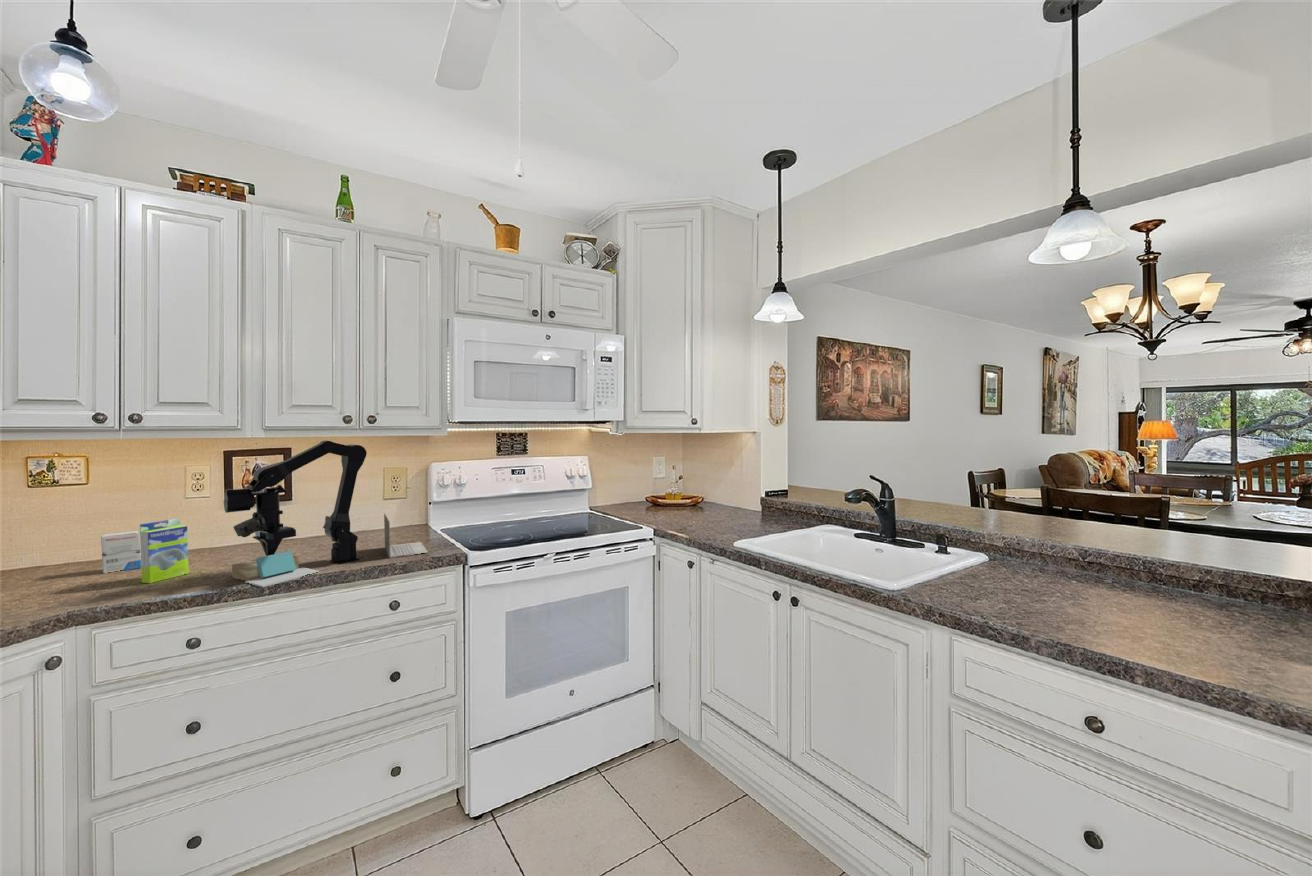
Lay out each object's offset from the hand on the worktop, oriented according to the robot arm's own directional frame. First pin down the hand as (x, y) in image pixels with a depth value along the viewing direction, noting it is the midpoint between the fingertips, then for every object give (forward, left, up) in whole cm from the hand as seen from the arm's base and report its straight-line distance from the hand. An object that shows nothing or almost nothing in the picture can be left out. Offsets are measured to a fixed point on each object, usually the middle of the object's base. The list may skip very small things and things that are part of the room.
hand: (269, 558), depth 161 cm
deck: (0, -2, -5) cm, 5 cm away
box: (+16, -24, -5) cm, 30 cm away
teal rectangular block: (0, +3, -2) cm, 3 cm away
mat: (0, +7, -5) cm, 9 cm away
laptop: (-38, +12, -6) cm, 41 cm away
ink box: (+18, -48, -5) cm, 52 cm away
